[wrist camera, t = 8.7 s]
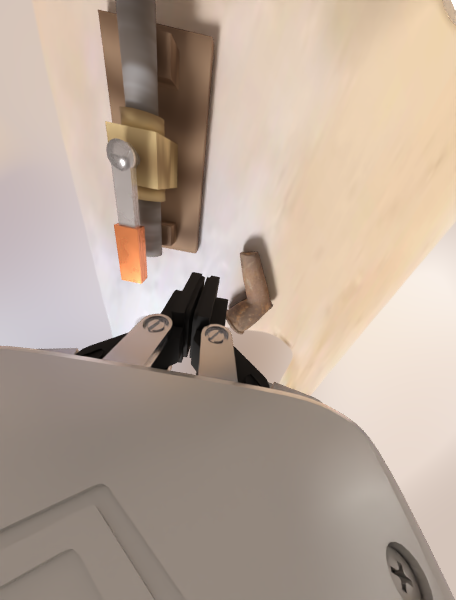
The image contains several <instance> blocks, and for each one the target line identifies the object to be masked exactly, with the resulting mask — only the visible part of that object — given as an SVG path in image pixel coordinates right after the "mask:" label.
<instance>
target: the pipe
mask: <svg viewBox="0 0 456 600" xmlns="http://www.w3.org/2000/svg"><path fill="white" fill-rule="evenodd" d="M240 258H241V266H242V273H243V280H244V285H245V290H246V296H247V299H245V300H243V301H241V302H239V303H237V304H236V305H234V306H233V307H232V308H230V309H229V310H227V312H226V320H227V322H228V324H229V325H230V327H231V328H232V329H233V330H234V331H235V332H236V333H238V334H243V333H244V331H245V330H247V329H248V328H249V327H251V326H252V325H253V324H255V323H256V322H257V321H258V320H259V319H260V318H261V317H262V316H263V315H264V314H265V313H266V312H267V311H268V310H269V309H271V308H272V307H273V305H272V303H271V301H270V298H269V292H268V287H267V283H266V280H265V276H264V273H263V268H262V265H261V261H260V257H259V254H258V252H255V251H254V252H247V253H244V252H241V253H240Z"/></svg>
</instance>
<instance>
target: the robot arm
mask: <svg viewBox="0 0 456 600" xmlns="http://www.w3.org/2000/svg"><path fill="white" fill-rule="evenodd" d="M443 4H444V8H445V11H446V13H447V15H448V16H449V18H450V20H451V21H452V22H453V23H454V24H455V25H456V0H443ZM219 279H220V277H216V276H211V277H210V278H209V277H207V279H206V282H205V285H204V280H205V277H203V276H202V274H200V273H195V272H193V273H192V274H191V276H190V278H189V280H188V282H187V284H186V285H185V287H184V289H183V291H179V290H175V291H174V293H173V294H172V296H171V298H170V299H169V301H168V303H167V304H166V306H165V308H164V309H163V311H162V312H161V314H152V315H148V316H146V317H144V318H143V319H142V320H141V321H140V322H139V323H138V324H137V325H136V326H135V327H134V328H133V329H132V330H131V331H130V332H129V333H126V334H123V335H120V336H117V337H114V338H111V339H108V340H106V341H103V342H100V343H97V344H94V345H91V346H88V347H86V348H84V349H82V350H81V351H78V349H77V348H71V349H69V348H68V349H30V348H21V347H10V346H0V600H455V599H454V597H453V595H452V593H451V591H450V588H449V587H448V584H447V582H446V580H445V578H444V576H443V574H442V572H441V570H440V568H439V566H438V564H437V562H436V560H435V557H434V555H433V553H432V551H431V549H430V547H429V545H428V543H427V541H426V539H425V537H424V535H423V533H422V531H421V529H420V527H419V525H418V524H417V521H416V519H415V517H414V515H413V513H412V512H411V509H410V508H409V506H408V504H407V502H406V500H405V498H404V496H403V494H402V492H401V490H400V488H399V486H398V485H397V483H396V481H395V479H394V477H393V475H392V473H391V472H390V470H389V468H388V466H387V465H386V463H385V461H384V460H383V458H382V456H381V454H380V453H379V451H378V450H377V448H376V447H375V445H374V444H373V442H372V441H371V440H370V438H369V437H368V436H367V434H366V433H365V432H364V431H363V430H362V429H361V428H360V427H359V426H358V425H357V424H356V423H354V422H353V421H352V420H350V419H349V418H348V417H346V416H345V415H343V414H342V413H340V412H338V411H336V410H335V409H333V408H331V407H329V406H327V405H325V404H323V403H322V402H320V401H319V400H318V399H316V398H314V397H311V396H309V395H306V394H304V393H301V392H299V391H296V390H294V389H291V388H288V387H286V386H283V385H281V384H278V383H276V382H274V383H273V384H272V383H269V382H268V381H267V379H266V378H265V377H264V376H263V375H262V374H261V373H260V372H259V371H258V370H257V369H256V368H255V367H254V366H253V365H252V364H251V363H250V362H249V361H248V360H247V359H246V358H245V357H244V356H243V355H242V354H241V353H240V352H239V351H238V350H237V349H236V348H235V347H234V346H233V340H232V334H231V332H230V331H229V329H228V328H226V327H225V320H226V312H227V305H228V299H222V298H217V291H218V285H219ZM190 346H191V347H190ZM189 349H190V358H191V365H192V366H193V367H194V369H195V370H196V375H192V374H186V373H180V372H174V371H171V368H172V365H173V364H175V363H177V362H182V359H183V357H187V355H188V352H189Z"/></svg>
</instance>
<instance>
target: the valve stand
mask: <svg viewBox="0 0 456 600" xmlns="http://www.w3.org/2000/svg"><path fill="white" fill-rule="evenodd" d="M115 1H116V12H117V14H114V13H110V12H106V11H102V10H98V13H99V21H100V29H101V37H102V44H103V52H104V60H105V68H106V76H107V83H108V91H109V99H110V107H111V115H112V123H111V122H106V121H105V123H106V130H107V137H108V142H109V141H110V140H111V139H114V138H117V139H120V140H123V141H126V142H128V143H130V144H131V145H132V146H133V147H134V148H135V150H136V152H137V155H138V166H137V168H136V175H137V190H138V205H139V219H140V225H141V226H144V227H145V245H146V257H158V256H161V255H162V247H164V248H170V249H175V250H180V251H186V252H191V253H196V252H197V250H198V238H199V226H200V213H201V201H202V189H203V177H204V164H205V152H206V140H207V128H208V115H209V103H210V91H211V79H212V66H213V54H214V42H213V37H211V36H207V35H202V34H198V33H194V32H190V31H186V30H181V29H177V28H173V27H169V26H165V25H161V24H156V4H155V0H115Z"/></svg>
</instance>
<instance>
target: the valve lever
mask: <svg viewBox="0 0 456 600" xmlns="http://www.w3.org/2000/svg"><path fill="white" fill-rule="evenodd" d="M107 156H108V159H109V161H110V162H111V165H112V173H113V181H114V189H115V197H116V205H117V213H118V221H119V223H117V224H115V225H114V229H115V236H116V243H117V250H118V257H119V264H120V271H121V278H122V280H126V281H131V282H136V283H141V284H142V283H143V282H144V281H145V279H146V278H147V263H146V245H145V227H144V226H141V225H140V219H139V205H138V190H137V175H136V168H137V166H138V155H137V152H136V150H135V148H134V147H133V146H132V145H131V144H130V143H128V142H126V141H123V140H120V139H117V138H114V139H111V140H110V141H109V142H108V144H107Z"/></svg>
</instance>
